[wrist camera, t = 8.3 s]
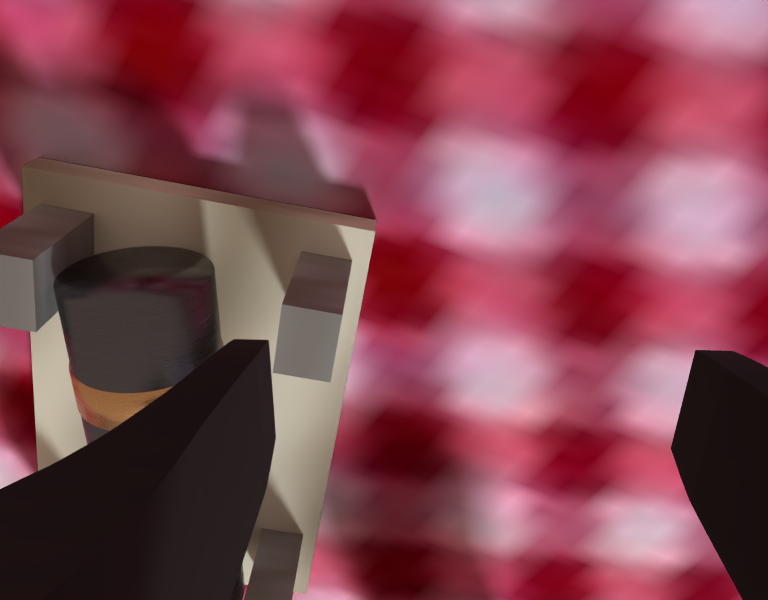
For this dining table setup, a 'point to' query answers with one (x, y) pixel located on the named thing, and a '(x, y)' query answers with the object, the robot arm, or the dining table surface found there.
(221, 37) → the dining table surface
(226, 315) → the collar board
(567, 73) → the dining table surface
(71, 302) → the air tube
